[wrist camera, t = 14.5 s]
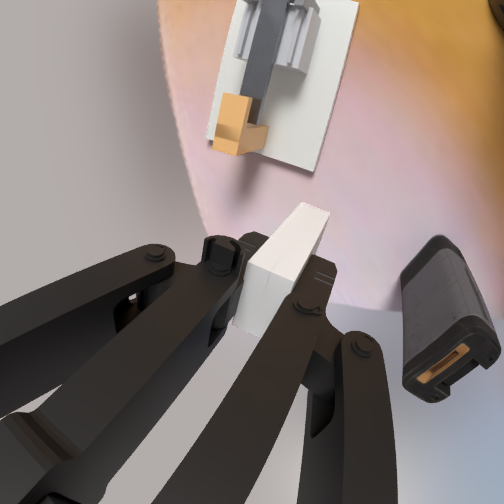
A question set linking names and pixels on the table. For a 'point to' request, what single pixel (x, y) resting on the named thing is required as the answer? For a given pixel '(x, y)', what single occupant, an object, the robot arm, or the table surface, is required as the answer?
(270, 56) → the strap
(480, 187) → the table surface
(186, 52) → the table surface
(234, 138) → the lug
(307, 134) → the board
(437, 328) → the electronic device
